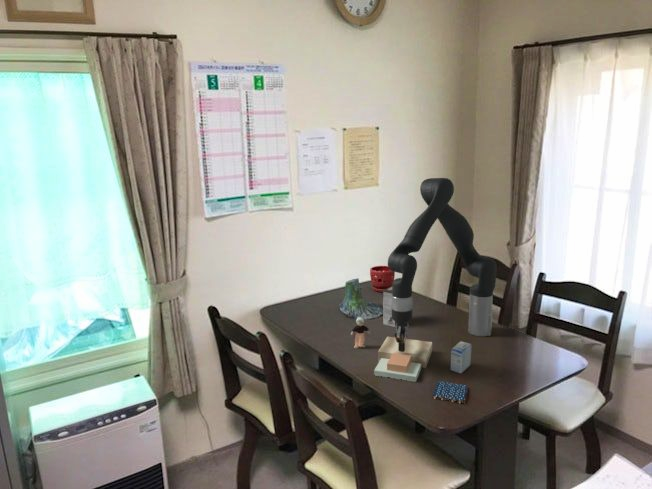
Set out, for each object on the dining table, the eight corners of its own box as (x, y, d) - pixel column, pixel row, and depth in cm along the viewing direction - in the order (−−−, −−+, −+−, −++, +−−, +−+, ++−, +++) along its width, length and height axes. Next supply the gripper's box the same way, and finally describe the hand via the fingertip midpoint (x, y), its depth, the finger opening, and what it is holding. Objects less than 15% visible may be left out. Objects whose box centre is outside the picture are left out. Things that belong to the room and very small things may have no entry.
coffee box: (392, 317, 229) (392, 284, 225) (405, 320, 225) (405, 287, 221) (382, 324, 222) (382, 290, 218) (395, 327, 218) (395, 292, 214)
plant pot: (399, 290, 265) (399, 268, 262) (379, 295, 259) (379, 273, 256) (385, 284, 276) (384, 263, 273) (365, 288, 270) (365, 267, 267)
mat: (421, 368, 181) (421, 363, 180) (415, 381, 172) (415, 376, 171) (381, 362, 186) (381, 358, 186) (374, 375, 177) (374, 370, 177)
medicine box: (459, 362, 185) (460, 340, 183) (470, 365, 182) (471, 343, 180) (450, 370, 179) (450, 348, 177) (461, 374, 176) (462, 351, 174)
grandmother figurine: (353, 350, 198) (352, 320, 195) (350, 346, 201) (349, 316, 198) (371, 347, 200) (371, 317, 196) (368, 343, 203) (367, 314, 200)
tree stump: (371, 324, 223) (361, 285, 220) (334, 326, 235) (324, 288, 233) (390, 308, 238) (381, 272, 235) (354, 311, 251) (345, 276, 248)
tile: (411, 361, 182) (411, 355, 182) (406, 372, 174) (406, 366, 174) (393, 358, 185) (393, 352, 184) (387, 370, 177) (387, 363, 176)
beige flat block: (432, 351, 194) (432, 342, 193) (425, 368, 181) (425, 358, 180) (387, 345, 200) (387, 336, 199) (378, 361, 188) (378, 351, 187)
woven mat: (465, 406, 157) (465, 400, 157) (431, 400, 161) (432, 394, 161) (469, 390, 167) (469, 384, 166) (437, 384, 171) (437, 379, 170)
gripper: (408, 314, 172) (408, 360, 176) (415, 301, 184) (415, 344, 188) (387, 312, 175) (387, 357, 179) (396, 299, 187) (396, 342, 191)
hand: (401, 350), depth 184 cm, fingers closed
